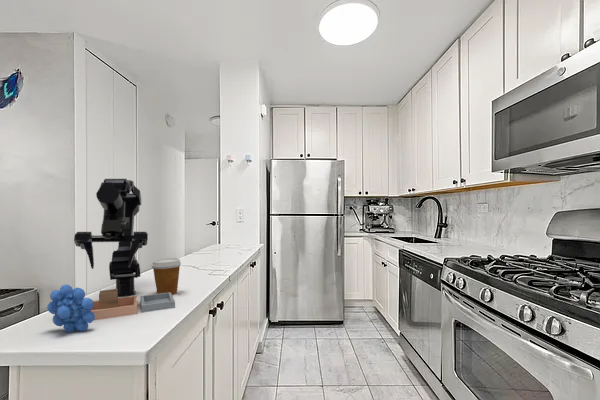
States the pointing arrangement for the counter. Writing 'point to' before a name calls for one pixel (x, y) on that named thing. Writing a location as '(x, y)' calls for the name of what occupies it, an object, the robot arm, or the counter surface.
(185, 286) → the counter surface
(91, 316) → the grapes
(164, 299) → the tray
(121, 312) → the dish
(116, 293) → the block
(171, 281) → the disposable coffee cup
